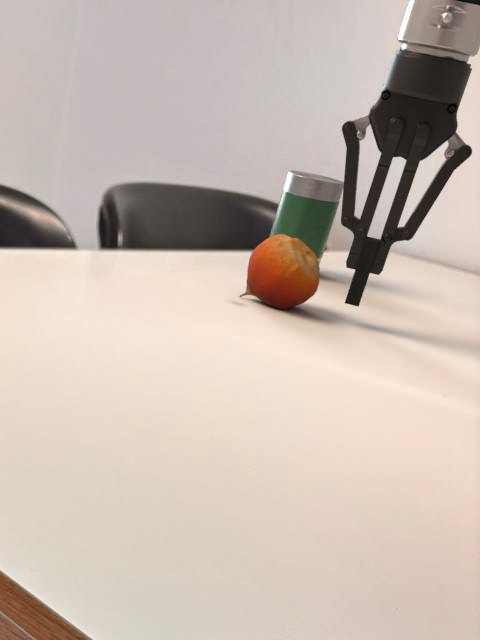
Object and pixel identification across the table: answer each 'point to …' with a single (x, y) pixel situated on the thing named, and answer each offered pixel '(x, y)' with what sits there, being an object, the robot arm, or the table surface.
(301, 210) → the tin can
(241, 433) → the table surface
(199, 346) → the table surface
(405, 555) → the table surface
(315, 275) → the fruit
